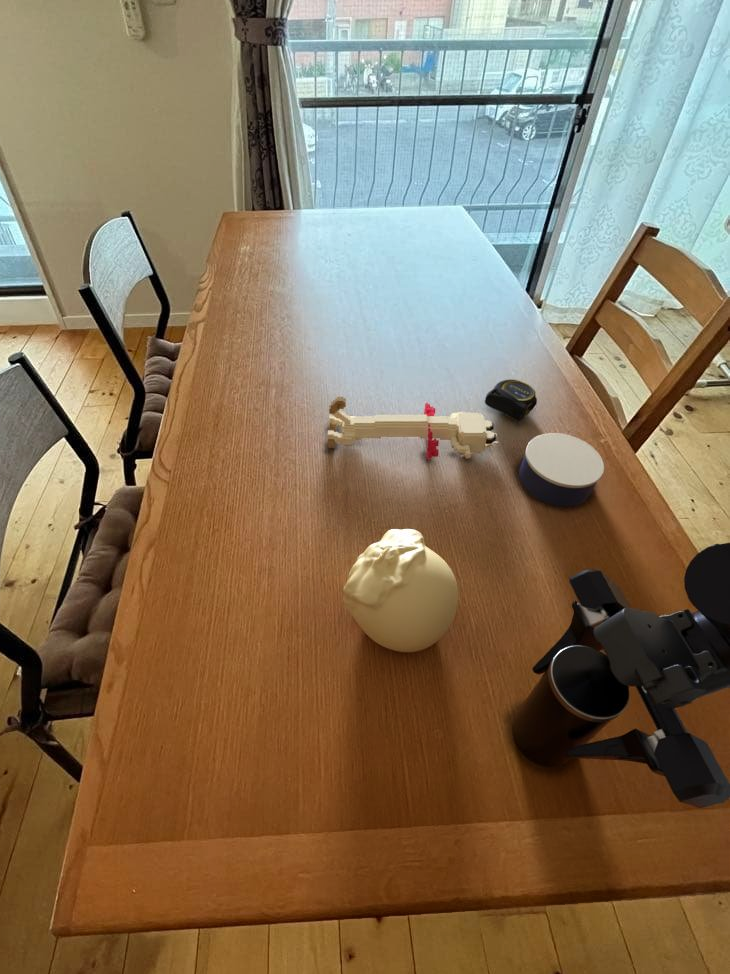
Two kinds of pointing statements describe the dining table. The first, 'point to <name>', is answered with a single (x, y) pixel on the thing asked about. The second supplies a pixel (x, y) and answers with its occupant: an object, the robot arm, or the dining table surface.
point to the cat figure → (414, 428)
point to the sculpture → (401, 592)
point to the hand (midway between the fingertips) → (550, 711)
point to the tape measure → (512, 398)
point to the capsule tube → (568, 706)
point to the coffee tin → (560, 469)
